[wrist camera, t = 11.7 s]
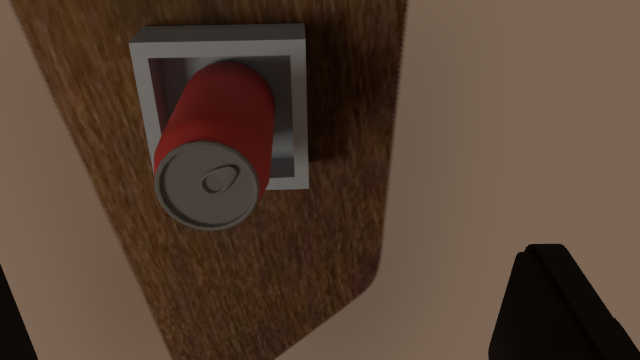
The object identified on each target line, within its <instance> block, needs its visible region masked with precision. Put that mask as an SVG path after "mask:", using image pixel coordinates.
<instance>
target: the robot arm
mask: <svg viewBox="0 0 640 360" xmlns="http://www.w3.org/2000/svg"><path fill="white" fill-rule="evenodd" d="M488 356H489V360H640V352H639V350H638V349H637V348H636V346H635V345H634V343H633V342H632V340H631V339H630V337H629V336H628V334H627V333H626V331H625V330H624V328H623V327H622V326H621V325H620V323H619V322H618V321H617V320H616V319H615V318H613V317H612V315H611V313H610V312H609V311H608V309H607V308H606V306H605V305H604V303H603V302H602V300H601V299H600V297H599V296H598V294H597V293H596V291H595V290H594V288H593V287H592V285H591V284H590V282H589V281H588V280H587V278H586V277H585V275H584V274H583V272H582V271H581V269H580V268H579V266H578V265H577V263H576V262H575V260H574V259H573V257H572V256H571V254H570V253H569V251H568V250H567V249H566V248H565V247H564V246H563V245H561V244H530V245H528V246H527V247H526V249H525V251H524V252H519V253H518V254H517V256H516V258H515V261H514V264H513V268H512V271H511V275H510V278H509V281H508V285H507V288H506V292H505V295H504V298H503V302H502V305H501V308H500V312H499V315H498V318H497V322H496V325H495V329H494V332H493V335H492V339H491V342H490V346H489V351H488ZM0 360H38V358H37V355H36V353H35V351H34V348H33V345H32V343H31V340H30V338H29V335H28V333H27V330H26V328H25V325H24V323H23V320H22V317H21V315H20V312H19V310H18V307H17V305H16V302H15V300H14V298H13V295H12V292H11V290H10V287H9V285H8V282H7V280H6V277H5V275H4V272H3V270H2V267H1V265H0Z"/></svg>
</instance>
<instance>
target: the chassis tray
mask: <svg viewBox="0 0 640 360" xmlns="http://www.w3.org/2000/svg"><path fill="white" fill-rule="evenodd" d="M129 47H130V52H131V58H132V63H133V68H134V73H135V78H136V84H137V89H138V94H139V99H140V104H141V110H142V115H143V120H144V125H145V131H146V136H147V141H148V146H149V151H150V157H151V162H152V167H153V172H154V153H155V150H156V148H157V145H158V143H159V140H160V138H161V136H162V134H163V132H164V130H165V128H166V126H167V124H168V121H169V119H170V117H171V115H172V113H173V111H174V109H175V107H176V105H177V103H178V101H179V99H180V97H181V95H182V93H183V91H184V89H185V87H186V85H187V83H188V81H189V80H190V79H191V78H192V76H193V75H194V74H195V73H196V72H197V71H198V70H200V69H202V68H204V67H206V66H207V65H209V64H213V63H219V62H232V63H240V64H242V65H244V66H247V67H249V68H251V69H253V70H255V71H256V72H257V73H258V74H259V75H260V76H261V77H263V78H264V79H265V80H266V82H267V84H268V85H269V87H270V89H271V90H272V92H273V97H274V101H275V118H274V132H273V146H272V159H271V171H270V179H269V184H268V185H267V187H266V189H265V190H280V189H309V176H308V130H307V84H306V39H305V25H304V23H294V24H241V25H188V26H144V27H143V28H142V29H141V30H140V31H139V32H138V33H137V35H136V36H135V37H134V38H133V39H132V40H131V41H130V42H129Z"/></svg>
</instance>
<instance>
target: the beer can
mask: <svg viewBox="0 0 640 360" xmlns="http://www.w3.org/2000/svg"><path fill="white" fill-rule="evenodd" d="M274 118H275V101H274V97H273V92H272V90H271V89H270V87H269V85H268V84H267V82H266V80H265V79H264V78H263V77H261V76H260V75H259V74H258V73H257V72H256V71H255V70H253V69H251V68H249V67H247V66H244V65H242V64H240V63H232V62H219V63H213V64H209V65H207V66H206V67H204V68H202V69H200V70H198V71H197V72H196V73H195V74H194V75H193V76H192V78H191V79H190V80H189V81H188V83H187V85H186V87H185V89H184V91H183V93H182V95H181V97H180V99H179V101H178V103H177V105H176V107H175V109H174V111H173V113H172V115H171V117H170V119H169V121H168V124H167V126H166V128H165V130H164V132H163V134H162V136H161V138H160V140H159V143H158V145H157V148H156V150H155V153H154V178H155V192H156V195H157V197H158V200H159V203H160V204H161V205H162V207H163V208H164V209H165V210H166V212H167V213H168V214H169V215H170V216H171V217H173V218H174V219H176V220H177V221H179V222H180V223H182V224H184V225H186V226H189V227H192V228H195V229H198V230H209V231H216V230H222V229H228V228H231V227H233V226H235V225H237V224H239V223H241V222H243V221H244V220H245V219H246V218H247V217H248V216H249V215H250V214H251V213H252V212H253V210H254V208H255V206H256V204H257V203H258V202H259V201H260V199H261V197H262V195H263V193H264V191H265V189H266V187H267V185H268V184H269V179H270V171H271V159H272V146H273V132H274Z"/></svg>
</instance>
